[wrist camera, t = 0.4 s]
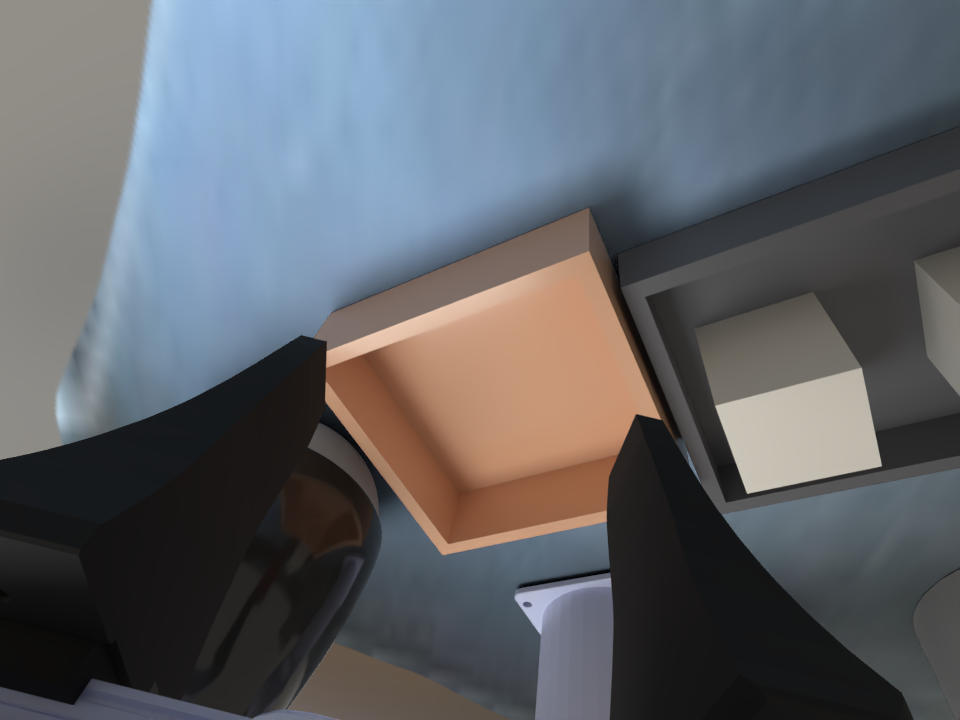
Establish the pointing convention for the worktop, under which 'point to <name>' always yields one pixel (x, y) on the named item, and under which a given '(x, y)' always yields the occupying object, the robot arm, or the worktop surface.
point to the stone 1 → (788, 395)
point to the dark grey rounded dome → (292, 584)
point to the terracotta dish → (497, 386)
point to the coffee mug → (942, 635)
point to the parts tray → (840, 290)
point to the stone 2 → (941, 311)
